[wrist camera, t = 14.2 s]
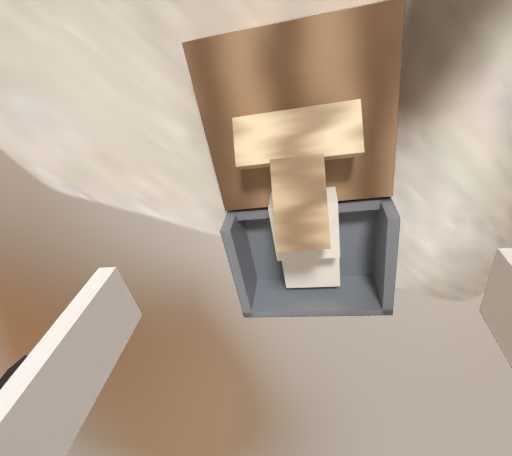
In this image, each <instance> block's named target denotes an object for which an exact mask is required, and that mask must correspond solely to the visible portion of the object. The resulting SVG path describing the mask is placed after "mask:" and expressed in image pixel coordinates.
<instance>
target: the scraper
mask: <svg viewBox="0 0 512 456" xmlns="http://www.w3.org/2000/svg"><path fill="white" fill-rule="evenodd" d="M232 123H233V137H234V151H235V164H236V167H237V168H238V169H240V170H245V169H254V168H263V167H270V171H271V185H272V199H273V212H274V226H275V240H276V252H290V251H307V250H325V249H331V244H330V231H329V217H328V204H327V190H326V176H325V163H324V161H325V160H334V159H343V158H352V157H361V156H363V154H364V152H365V150H364V137H363V124H362V110H361V99H356V100H350V101H343V102H336V103H329V104H322V105H316V106H309V107H302V108H295V109H288V110H282V111H275V112H268V113H261V114H254V115H248V116H241V117H234V118H232Z"/></svg>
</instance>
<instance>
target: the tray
mask: <svg viewBox="0 0 512 456" xmlns="http://www.w3.org/2000/svg"><path fill="white" fill-rule="evenodd" d="M338 215H339V240H340V258H339V266H340V286H335V287H306V288H286V283H285V277H284V271H283V265H282V261H277V256H276V251H275V245H274V239H273V234H272V228H271V222H270V217H269V211H268V207H262V208H251V209H239V210H228V212H227V215H226V217H225V220H224V223H223V225H222V228H221V230H220V233H221V237H222V240H223V243H224V247H225V250H226V254H227V257H228V261H229V265H230V268H231V272H232V276H233V279H234V283H235V286H236V290H237V294H238V297H239V300H240V304H241V307H242V311H243V315H244V317H302V316H303V317H306V316H365V315H368V316H370V315H393V303H394V290H395V278H396V266H397V253H398V241H399V229H400V216H399V214H398V212H397V210H396V207H395V205H394V203H393V201H392V199H391V196H389V197H377V198H366V199H354V200H343V201H338Z"/></svg>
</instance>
